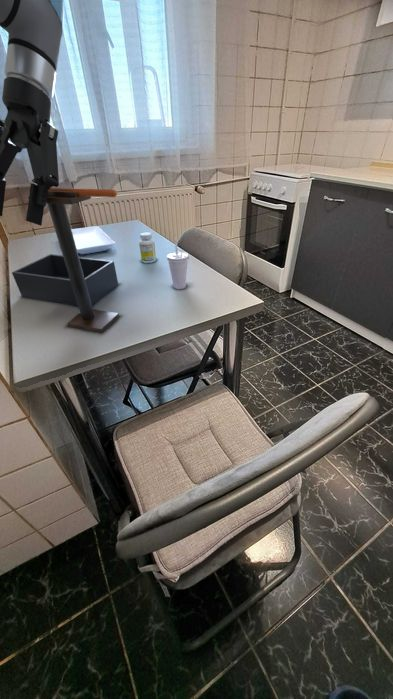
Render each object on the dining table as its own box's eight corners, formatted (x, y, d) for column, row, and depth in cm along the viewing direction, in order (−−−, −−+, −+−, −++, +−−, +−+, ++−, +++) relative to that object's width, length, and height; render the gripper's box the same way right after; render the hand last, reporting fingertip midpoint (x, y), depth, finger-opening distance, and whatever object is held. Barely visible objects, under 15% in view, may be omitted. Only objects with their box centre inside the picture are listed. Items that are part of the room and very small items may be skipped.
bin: (21, 296, 87) (11, 272, 83) (57, 276, 99) (50, 254, 94) (88, 307, 81) (81, 282, 76) (118, 284, 92) (113, 261, 88)
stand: (67, 326, 73) (22, 193, 55) (87, 311, 79) (51, 186, 61) (102, 332, 71) (65, 194, 53) (119, 316, 77) (92, 187, 59)
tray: (99, 232, 140) (97, 224, 138) (117, 251, 118) (116, 242, 116) (62, 238, 134) (59, 230, 132) (74, 259, 112) (71, 250, 110)
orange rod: (28, 194, 59) (26, 187, 58) (33, 193, 60) (31, 186, 59) (115, 197, 53) (113, 190, 53) (118, 196, 54) (117, 189, 54)
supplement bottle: (150, 264, 106) (147, 236, 100) (138, 261, 108) (134, 234, 102) (159, 259, 109) (156, 232, 104) (147, 257, 112) (144, 230, 106)
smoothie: (184, 280, 94) (182, 235, 85) (193, 288, 89) (192, 241, 81) (166, 284, 91) (161, 238, 83) (174, 292, 87) (170, 244, 78)
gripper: (94, 106, 52) (72, 234, 57) (5, 101, 59) (-7, 215, 64) (60, 74, 45) (39, 222, 50) (-35, 73, 53) (-46, 202, 57)
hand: (13, 218), depth 57 cm, fingers open, 10 cm apart
